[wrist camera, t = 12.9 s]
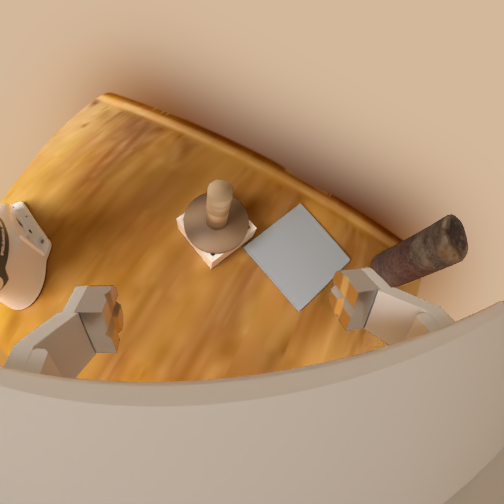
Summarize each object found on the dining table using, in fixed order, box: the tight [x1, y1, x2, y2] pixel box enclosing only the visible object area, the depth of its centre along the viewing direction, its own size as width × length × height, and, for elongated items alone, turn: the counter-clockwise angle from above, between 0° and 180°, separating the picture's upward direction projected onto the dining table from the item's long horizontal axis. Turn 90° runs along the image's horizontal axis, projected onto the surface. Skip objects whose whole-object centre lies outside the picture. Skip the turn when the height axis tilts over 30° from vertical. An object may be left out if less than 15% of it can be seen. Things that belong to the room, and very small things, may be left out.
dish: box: [176, 213, 257, 269], centre depth 44 cm, size 9×9×4 cm
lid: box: [184, 179, 249, 254], centre depth 37 cm, size 10×10×10 cm
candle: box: [371, 214, 468, 288], centre depth 40 cm, size 8×7×20 cm
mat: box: [244, 203, 350, 311], centre depth 47 cm, size 14×14×1 cm
